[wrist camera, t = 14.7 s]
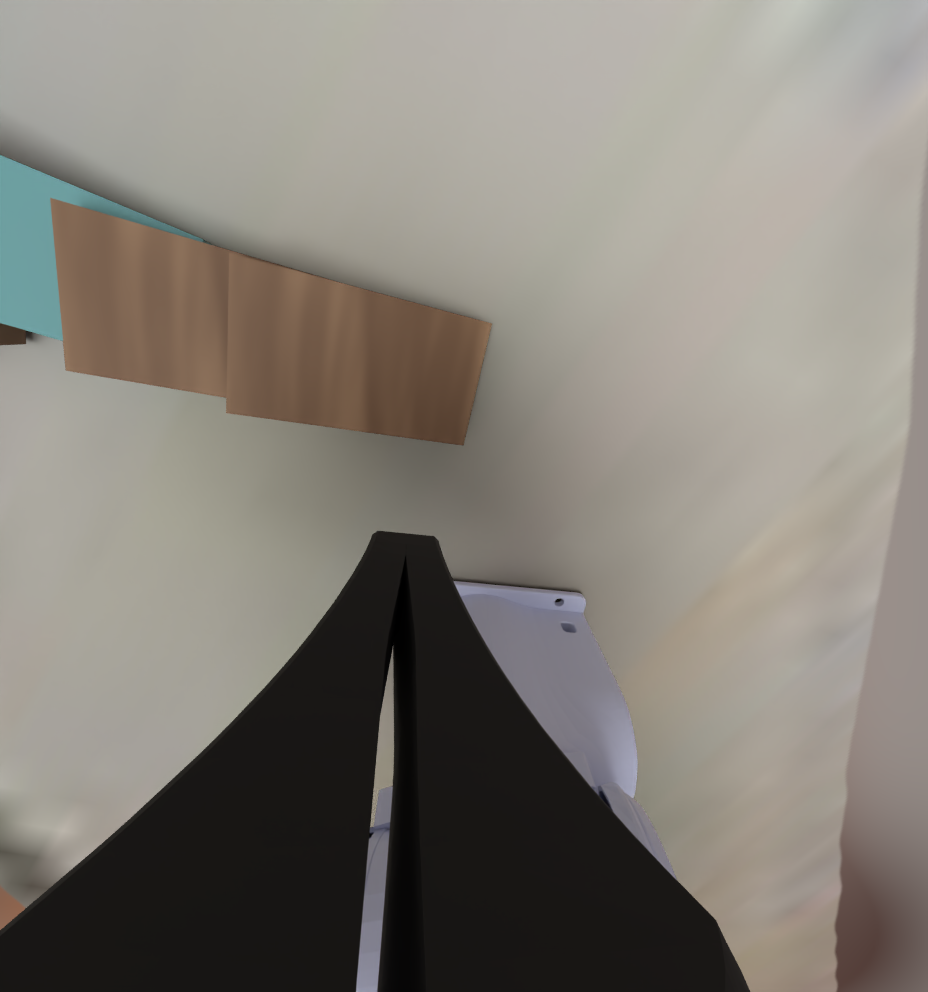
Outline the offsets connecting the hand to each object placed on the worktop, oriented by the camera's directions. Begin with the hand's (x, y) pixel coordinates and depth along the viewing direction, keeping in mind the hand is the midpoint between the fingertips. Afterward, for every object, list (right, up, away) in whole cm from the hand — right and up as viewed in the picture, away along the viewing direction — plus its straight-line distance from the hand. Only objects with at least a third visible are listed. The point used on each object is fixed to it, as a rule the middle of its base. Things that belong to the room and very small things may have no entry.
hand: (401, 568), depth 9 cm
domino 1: (-3, +8, +8) cm, 11 cm away
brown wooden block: (+2, +6, +8) cm, 11 cm away
